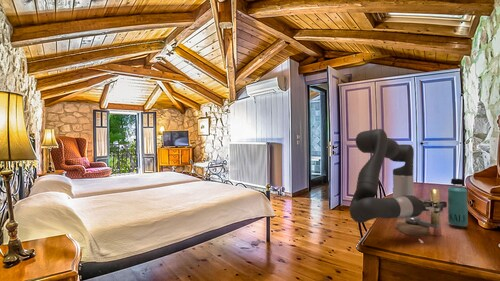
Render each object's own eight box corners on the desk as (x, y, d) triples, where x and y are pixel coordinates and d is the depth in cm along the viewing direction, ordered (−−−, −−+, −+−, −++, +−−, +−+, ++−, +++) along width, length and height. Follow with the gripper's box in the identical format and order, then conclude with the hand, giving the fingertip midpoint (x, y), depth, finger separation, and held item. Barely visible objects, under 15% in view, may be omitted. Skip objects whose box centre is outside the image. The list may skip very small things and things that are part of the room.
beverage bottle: (458, 224, 108) (458, 177, 107) (473, 229, 101) (472, 179, 101) (443, 224, 107) (443, 177, 107) (457, 230, 101) (456, 180, 101)
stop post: (432, 233, 98) (431, 218, 98) (438, 233, 98) (438, 218, 98) (436, 236, 96) (436, 220, 96) (443, 235, 96) (442, 220, 96)
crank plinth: (391, 226, 107) (391, 219, 107) (417, 225, 108) (417, 218, 108) (407, 236, 96) (407, 228, 96) (436, 235, 97) (436, 227, 97)
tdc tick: (418, 239, 93) (418, 239, 93) (421, 239, 93) (421, 239, 93) (420, 242, 90) (420, 242, 90) (423, 243, 90) (423, 242, 90)
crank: (402, 221, 103) (402, 186, 103) (409, 219, 105) (408, 184, 105) (436, 230, 93) (435, 190, 92) (442, 227, 95) (442, 189, 95)
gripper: (420, 200, 85) (460, 197, 89) (388, 192, 98) (424, 189, 103) (420, 223, 85) (460, 218, 89) (388, 211, 98) (424, 208, 103)
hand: (441, 203), depth 96 cm, fingers closed on crank, 3 cm apart
